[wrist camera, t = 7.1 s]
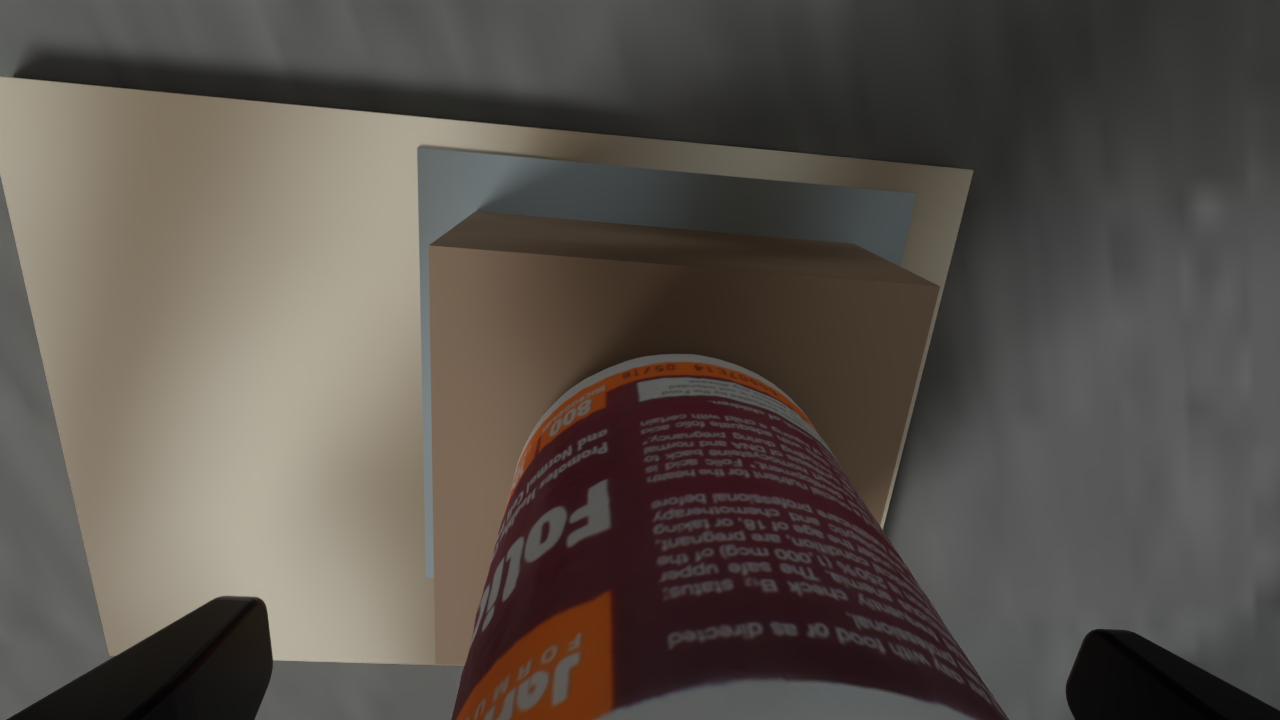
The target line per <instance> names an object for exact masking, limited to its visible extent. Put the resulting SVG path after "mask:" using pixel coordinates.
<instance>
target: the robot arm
mask: <svg viewBox="0 0 1280 720" xmlns="http://www.w3.org/2000/svg"><path fill="white" fill-rule="evenodd" d="M272 668H273V655H272V646H271V638H270V629H269V621H268V613H267V608H266V604H265V603H264V601H263V600H262V599H260V598H258V597H251V596H220V597H217V598H215V599H213V600H211V601H209V602H207V603H206V604H204V605H202V606H200V607H199V608H197V609H195V610H194V611H192V612H190V613H188V614H187V615H185V616H183V617H182V618H180V619H178V620H176V621H175V622H173V623H171V624H170V625H168V626H166V627H164V628H163V629H161V630H159V631H158V632H156V633H154V634H152V635H151V636H149V637H147V638H146V639H144V640H142V641H140V642H139V643H137V644H135V645H134V646H132V647H130V648H128V649H127V650H125V651H123V652H122V653H120V654H118V655H116V656H115V657H113V658H111V659H110V660H108V661H106V662H104V663H103V664H101V665H99V666H98V667H96V668H94V669H92V670H91V671H89V672H87V673H86V674H84V675H82V676H80V677H79V678H77V679H75V680H74V681H72V682H70V683H68V684H67V685H65V686H63V687H62V688H60V689H58V690H56V691H55V692H53V693H51V694H50V695H48V696H46V697H44V698H43V699H41V700H39V701H38V702H36V703H34V704H32V705H31V706H29V707H27V708H26V709H24V710H22V711H21V712H19V713H17V714H15V715H14V716H12V717H10V718H9V719H7V720H254V719H255V717H256V714H257V712H258V709H259V707H260V704H261V702H262V700H263V697H264V695H265V692H266V690H267V687H268V684H269V682H270V678H271V674H272ZM1066 698H1067V702H1068V705H1069V708H1070V710H1071V712H1072V714H1073V716H1074V718H1075V720H1280V711H1279V710H1277V709H1275V708H1274V707H1272V706H1270V705H1268V704H1266V703H1264V702H1262V701H1261V700H1259V699H1257V698H1255V697H1253V696H1251V695H1249V694H1248V693H1246V692H1244V691H1242V690H1240V689H1238V688H1236V687H1235V686H1233V685H1231V684H1229V683H1227V682H1225V681H1223V680H1222V679H1220V678H1218V677H1216V676H1214V675H1212V674H1210V673H1209V672H1207V671H1205V670H1203V669H1201V668H1199V667H1197V666H1196V665H1194V664H1192V663H1190V662H1188V661H1186V660H1184V659H1183V658H1181V657H1179V656H1177V655H1175V654H1173V653H1171V652H1170V651H1168V650H1166V649H1164V648H1162V647H1160V646H1158V645H1157V644H1155V643H1153V642H1151V641H1149V640H1147V639H1145V638H1144V637H1142V636H1140V635H1138V634H1136V633H1134V632H1131V631H1127V630H1111V629H1096V630H1092V631H1091V632H1089V633H1088V634H1087V635H1086V636H1085V638H1084V640H1083V642H1082V645H1081V647H1080V650H1079V652H1078V655H1077V657H1076V660H1075V662H1074V665H1073V667H1072V670H1071V672H1070V675H1069V677H1068V680H1067V683H1066Z"/></svg>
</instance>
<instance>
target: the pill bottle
mask: <svg viewBox="0 0 1280 720" xmlns="http://www.w3.org/2000/svg"><path fill="white" fill-rule="evenodd" d="M452 720H1009V719H1008V718H1007V716H1006V715H1005V713H1004V712H1003V710H1002V709H1001V707H1000V706H999V704H998V703H997V701H996V700H995V698H994V696H993V695H992V694H991V692H990V691H989V689H988V688H987V687H986V685H985V684H984V683H983V681H982V680H981V678H980V676H979V675H978V673H977V672H976V670H975V669H974V667H973V666H972V664H971V663H970V661H969V660H968V658H967V657H966V655H965V654H964V652H963V651H962V649H961V648H960V647H959V645H958V644H957V642H956V641H955V640H954V638H953V637H952V635H951V633H950V632H949V630H948V629H947V627H946V626H945V624H944V623H943V621H942V619H941V618H940V616H939V614H938V613H937V611H936V610H935V608H934V607H933V605H932V604H931V602H930V601H929V599H928V597H927V596H926V594H925V593H924V592H923V590H922V589H921V588H920V586H919V585H918V583H917V582H916V580H915V579H914V577H913V575H912V574H911V572H910V571H909V569H908V568H907V566H906V565H905V563H904V562H903V560H902V559H901V557H900V556H899V554H898V553H897V551H896V550H895V548H894V547H893V545H892V544H891V542H890V541H889V539H888V537H887V536H886V534H885V533H884V531H883V530H882V528H881V527H880V525H879V524H878V522H877V521H876V519H875V518H874V516H873V515H872V513H871V512H870V510H869V509H868V507H867V506H866V504H865V503H864V501H863V500H862V498H861V497H860V495H859V494H858V492H857V491H856V489H855V488H854V486H853V485H852V483H851V482H850V480H849V479H848V477H847V475H846V474H845V472H844V471H843V469H842V468H841V466H840V464H839V463H838V461H837V460H836V458H835V457H834V455H833V453H832V452H831V450H830V449H829V447H828V446H827V444H826V443H825V442H824V440H823V439H822V438H821V436H820V435H819V434H818V432H817V431H816V429H815V427H814V426H813V425H812V423H811V422H810V420H809V419H808V417H807V416H806V415H805V414H804V412H803V411H802V410H801V408H800V407H799V406H798V405H797V404H796V403H795V402H794V401H793V400H792V399H791V398H790V397H789V396H788V395H787V394H785V393H784V392H783V391H782V390H781V389H779V388H778V387H777V386H776V385H774V384H773V383H771V382H770V381H768V380H766V379H765V378H763V377H761V376H760V375H758V374H756V373H754V372H752V371H750V370H747V369H745V368H743V367H741V366H738V365H736V364H733V363H729V362H726V361H723V360H720V359H716V358H711V357H706V356H701V355H695V354H660V355H652V356H644V357H639V358H635V359H632V360H628V361H625V362H622V363H620V364H617V365H615V366H612V367H609V368H607V369H605V370H603V371H601V372H598V373H596V374H594V375H592V376H590V377H588V378H586V379H584V380H583V381H581V382H580V383H578V384H577V385H575V386H574V387H572V388H571V389H570V390H568V391H567V392H566V393H565V394H564V395H562V396H561V397H560V398H559V399H558V400H557V401H556V402H555V403H554V404H553V405H552V406H551V407H550V408H549V409H548V410H547V411H546V412H545V414H544V415H543V416H542V417H541V418H540V420H539V421H538V423H537V424H536V426H535V427H534V429H533V431H532V432H531V434H530V436H529V438H528V440H527V442H526V444H525V446H524V448H523V450H522V453H521V455H520V458H519V460H518V463H517V467H516V471H515V475H514V479H513V484H512V488H511V491H510V495H509V499H508V502H507V506H506V510H505V514H504V517H503V520H502V522H501V526H500V529H499V532H498V537H497V541H496V545H495V548H494V552H493V555H492V559H491V563H490V568H489V573H488V576H487V580H486V583H485V586H484V590H483V594H482V598H481V601H480V604H479V607H478V610H477V613H476V618H475V624H474V630H473V636H472V640H471V644H470V648H469V653H468V657H467V660H466V663H465V666H464V669H463V672H462V675H461V681H460V686H459V690H458V695H457V699H456V703H455V707H454V711H453V715H452Z"/></svg>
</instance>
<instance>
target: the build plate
mask: <svg viewBox="0 0 1280 720" xmlns="http://www.w3.org/2000/svg"><path fill="white" fill-rule="evenodd" d="M973 171H974V170H968V169H961V168H952V167H941V166H931V165H921V164H910V163H900V162H889V161H879V160H869V159H858V158H848V157H837V156H827V155H817V154H806V153H796V152H785V151H775V150H765V149H754V148H744V147H733V146H723V145H713V144H702V143H692V142H681V141H671V140H661V139H650V138H640V137H629V136H619V135H609V134H598V133H588V132H578V131H567V130H557V129H546V128H536V127H526V126H515V125H505V124H494V123H484V122H474V121H463V120H453V119H442V118H432V117H422V116H411V115H401V114H390V113H380V112H370V111H359V110H349V109H338V108H328V107H318V106H307V105H297V104H286V103H276V102H266V101H255V100H245V99H234V98H224V97H214V96H203V95H193V94H182V93H172V92H162V91H151V90H141V89H130V88H120V87H110V86H99V85H89V84H79V83H68V82H58V81H47V80H37V79H27V78H16V77H5V76H0V175H1V179H2V184H3V188H4V193H5V197H6V202H7V206H8V210H9V215H10V219H11V224H12V228H13V232H14V237H15V241H16V246H17V250H18V255H19V259H20V263H21V268H22V272H23V277H24V281H25V286H26V290H27V294H28V299H29V303H30V308H31V312H32V316H33V321H34V325H35V330H36V334H37V339H38V343H39V347H40V352H41V356H42V361H43V365H44V370H45V374H46V378H47V383H48V387H49V392H50V396H51V400H52V405H53V409H54V414H55V418H56V423H57V427H58V431H59V436H60V440H61V445H62V449H63V454H64V458H65V462H66V467H67V471H68V476H69V480H70V484H71V489H72V493H73V498H74V502H75V507H76V511H77V515H78V520H79V524H80V529H81V533H82V538H83V542H84V546H85V551H86V555H87V560H88V564H89V568H90V573H91V577H92V582H93V586H94V591H95V595H96V599H97V604H98V608H99V613H100V617H101V622H102V626H103V630H104V635H105V639H106V644H107V648H108V652H109V655H115V656H116V655H118V654H120V653H122V652H123V651H125V650H127V649H128V648H130V647H132V646H134V645H135V644H137V643H139V642H140V641H142V640H144V639H146V638H147V637H149V636H151V635H152V634H154V633H156V632H158V631H159V630H161V629H163V628H164V627H166V626H168V625H170V624H171V623H173V622H175V621H176V620H178V619H180V618H182V617H183V616H185V615H187V614H188V613H190V612H192V611H194V610H195V609H197V608H199V607H200V606H202V605H204V604H206V603H207V602H209V601H211V600H213V599H215V598H217V597H220V596H251V597H258V598H260V599H262V600H263V601H264V603H265V604H266V608H267V613H268V621H269V629H270V638H271V646H272V655H273V660H284V661H318V662H352V663H385V664H419V665H453V666H465V665H460V664H435V605H434V543H433V481H432V419H431V357H430V295H429V245H430V244H431V243H433V242H434V241H435V240H437V239H438V238H440V237H441V236H442V235H444V234H445V233H446V232H448V231H449V230H451V229H452V228H453V227H455V226H456V225H457V224H459V223H460V222H462V221H463V220H464V219H466V218H467V217H468V216H470V215H471V214H473V213H474V212H475V211H476V212H488V213H500V214H511V215H523V216H535V217H547V218H559V219H570V220H582V221H594V222H606V223H618V224H629V225H641V226H653V227H665V228H677V229H688V230H700V231H712V232H724V233H736V234H747V235H759V236H771V237H783V238H795V239H806V240H818V241H830V242H842V243H853V244H855V245H857V246H859V247H861V248H863V249H865V250H868V251H870V252H872V253H874V254H876V255H878V256H880V257H882V258H884V259H886V260H888V261H890V262H892V263H894V264H896V265H898V266H900V267H902V268H904V269H906V270H908V271H910V272H912V273H914V274H916V275H918V276H920V277H922V278H924V279H926V280H928V281H930V282H932V283H934V284H936V285H938V286H940V289H939V293H938V297H937V301H936V305H935V309H934V313H933V317H932V321H931V325H930V329H929V333H928V337H927V341H926V345H925V349H924V353H923V357H922V361H921V365H920V369H919V373H918V377H917V381H916V385H915V389H914V393H913V397H912V401H911V405H910V409H909V413H908V417H907V421H906V425H905V429H904V433H903V437H902V441H901V445H900V449H899V453H898V457H897V461H896V465H895V469H894V473H893V477H892V481H891V485H890V489H889V493H888V497H887V501H886V505H885V509H884V513H883V517H882V521H881V525H880V527H881V528H882V530H883V527H884V523H885V519H886V515H887V511H888V507H889V503H890V499H891V495H892V491H893V487H894V483H895V479H896V475H897V472H898V468H899V464H900V460H901V456H902V452H903V448H904V444H905V440H906V436H907V432H908V428H909V424H910V420H911V416H912V412H913V408H914V404H915V400H916V396H917V392H918V389H919V385H920V381H921V377H922V373H923V369H924V365H925V361H926V357H927V353H928V349H929V345H930V341H931V337H932V333H933V329H934V325H935V321H936V317H937V313H938V309H939V306H940V302H941V298H942V294H943V290H944V286H945V282H946V278H947V274H948V270H949V266H950V262H951V258H952V254H953V250H954V246H955V242H956V238H957V234H958V230H959V226H960V223H961V219H962V215H963V211H964V207H965V203H966V199H967V195H968V191H969V187H970V183H971V179H972V175H973Z"/></svg>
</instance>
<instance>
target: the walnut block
mask: <svg viewBox="0 0 1280 720" xmlns="http://www.w3.org/2000/svg"><path fill="white" fill-rule="evenodd" d="M939 289H940V286H938V285H936V284H934V283H932V282H930V281H928V280H926V279H924V278H922V277H920V276H918V275H916V274H914V273H912V272H910V271H908V270H906V269H904V268H902V267H900V266H898V265H896V264H894V263H892V262H890V261H888V260H886V259H884V258H882V257H880V256H878V255H876V254H874V253H872V252H870V251H868V250H865V249H863V248H861V247H859V246H857V245H855V244H853V243H842V242H830V241H818V240H806V239H795V238H783V237H771V236H759V235H747V234H736V233H724V232H712V231H700V230H688V229H677V228H665V227H653V226H641V225H629V224H618V223H606V222H594V221H582V220H570V219H559V218H547V217H535V216H523V215H511V214H500V213H488V212H476V211H475V212H474V213H473V214H471V215H470V216H468V217H467V218H466V219H464V220H463V221H462V222H460V223H459V224H457V225H456V226H455V227H453V228H452V229H451V230H449V231H448V232H446V233H445V234H444V235H442V236H441V237H440V238H438V239H437V240H435V241H434V242H433V243H431V244H430V245H429V295H430V357H431V419H432V481H433V543H434V605H435V664H460V665H465V663H466V660H467V657H468V653H469V648H470V644H471V640H472V636H473V630H474V624H475V618H476V613H477V610H478V607H479V604H480V601H481V598H482V594H483V590H484V586H485V583H486V580H487V576H488V573H489V568H490V563H491V559H492V555H493V552H494V548H495V545H496V541H497V537H498V532H499V529H500V526H501V522H502V520H503V517H504V514H505V510H506V506H507V502H508V499H509V495H510V491H511V488H512V484H513V479H514V475H515V471H516V467H517V463H518V460H519V458H520V455H521V453H522V450H523V448H524V446H525V444H526V442H527V440H528V438H529V436H530V434H531V432H532V431H533V429H534V427H535V426H536V424H537V423H538V421H539V420H540V418H541V417H542V416H543V415H544V414H545V412H546V411H547V410H548V409H549V408H550V407H551V406H552V405H553V404H554V403H555V402H556V401H557V400H558V399H559V398H560V397H561V396H562V395H564V394H565V393H566V392H567V391H568V390H570V389H571V388H572V387H574V386H575V385H577V384H578V383H580V382H581V381H583V380H584V379H586V378H588V377H590V376H592V375H594V374H596V373H598V372H601V371H603V370H605V369H607V368H609V367H612V366H615V365H617V364H620V363H622V362H625V361H628V360H632V359H635V358H639V357H644V356H652V355H660V354H695V355H701V356H706V357H711V358H716V359H720V360H723V361H726V362H729V363H733V364H736V365H738V366H741V367H743V368H745V369H747V370H750V371H752V372H754V373H756V374H758V375H760V376H761V377H763V378H765V379H766V380H768V381H770V382H771V383H773V384H774V385H776V386H777V387H778V388H779V389H781V390H782V391H783V392H784V393H785V394H787V395H788V396H789V397H790V398H791V399H792V400H793V401H794V402H795V403H796V404H797V405H798V406H799V407H800V408H801V410H802V411H803V412H804V414H805V415H806V416H807V417H808V419H809V420H810V422H811V423H812V425H813V426H814V427H815V429H816V431H817V432H818V434H819V435H820V436H821V438H822V439H823V440H824V442H825V443H826V444H827V446H828V447H829V449H830V450H831V452H832V453H833V455H834V457H835V458H836V460H837V461H838V463H839V464H840V466H841V468H842V469H843V471H844V472H845V474H846V475H847V477H848V479H849V480H850V482H851V483H852V485H853V486H854V488H855V489H856V491H857V492H858V494H859V495H860V497H861V498H862V500H863V501H864V503H865V504H866V506H867V507H868V509H869V510H870V512H871V513H872V515H873V516H874V518H875V519H876V521H877V522H878V524H879V525H881V521H882V517H883V513H884V509H885V505H886V501H887V497H888V493H889V489H890V485H891V481H892V477H893V473H894V469H895V465H896V461H897V457H898V453H899V449H900V445H901V441H902V437H903V433H904V429H905V425H906V421H907V417H908V413H909V409H910V405H911V401H912V397H913V393H914V389H915V385H916V381H917V377H918V373H919V369H920V365H921V361H922V357H923V353H924V349H925V345H926V341H927V337H928V333H929V329H930V325H931V321H932V317H933V313H934V309H935V305H936V301H937V297H938V293H939Z"/></svg>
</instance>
